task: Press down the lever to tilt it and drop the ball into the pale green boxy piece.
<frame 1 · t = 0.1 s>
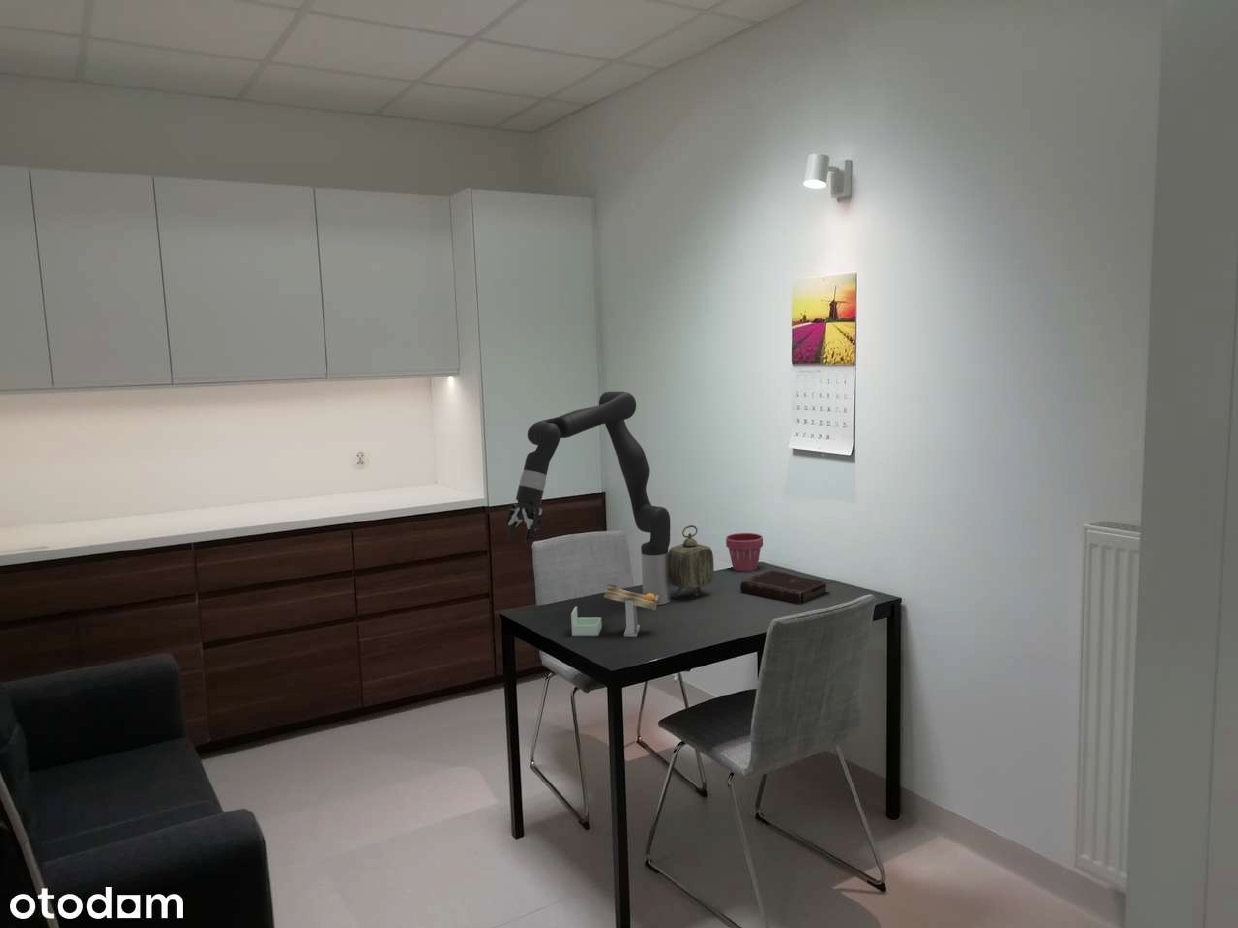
hand: (518, 540, 264), 31 cm above the table, tool tilted 20°, fingers open, 8 cm apart
ball: (649, 598, 272), point 10 cm above the table, tilted 11°, touching lever
pale green boxy piece: (587, 631, 276), on the table
lever: (631, 593, 276), point 11 cm above the table, hinge at 15.0°, touching ball
plant pot: (745, 569, 347), on the table
tabletop clock: (692, 596, 312), on the table
diary: (785, 594, 311), on the table
fulcrum: (632, 631, 274), on the table
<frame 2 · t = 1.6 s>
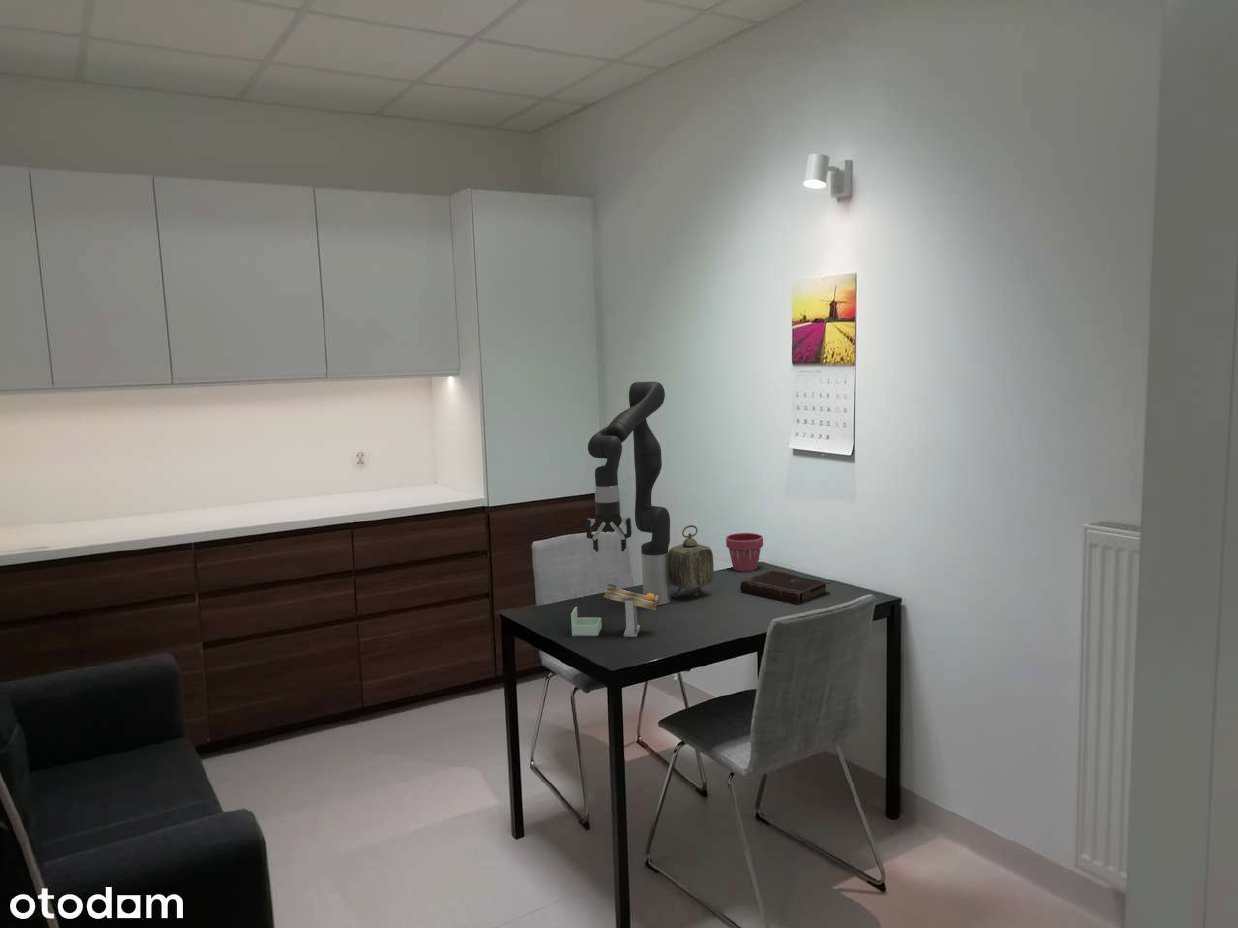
hand: (609, 551, 279), 24 cm above the table, tool pointing down, fingers open, 7 cm apart
nothing on the table moved.
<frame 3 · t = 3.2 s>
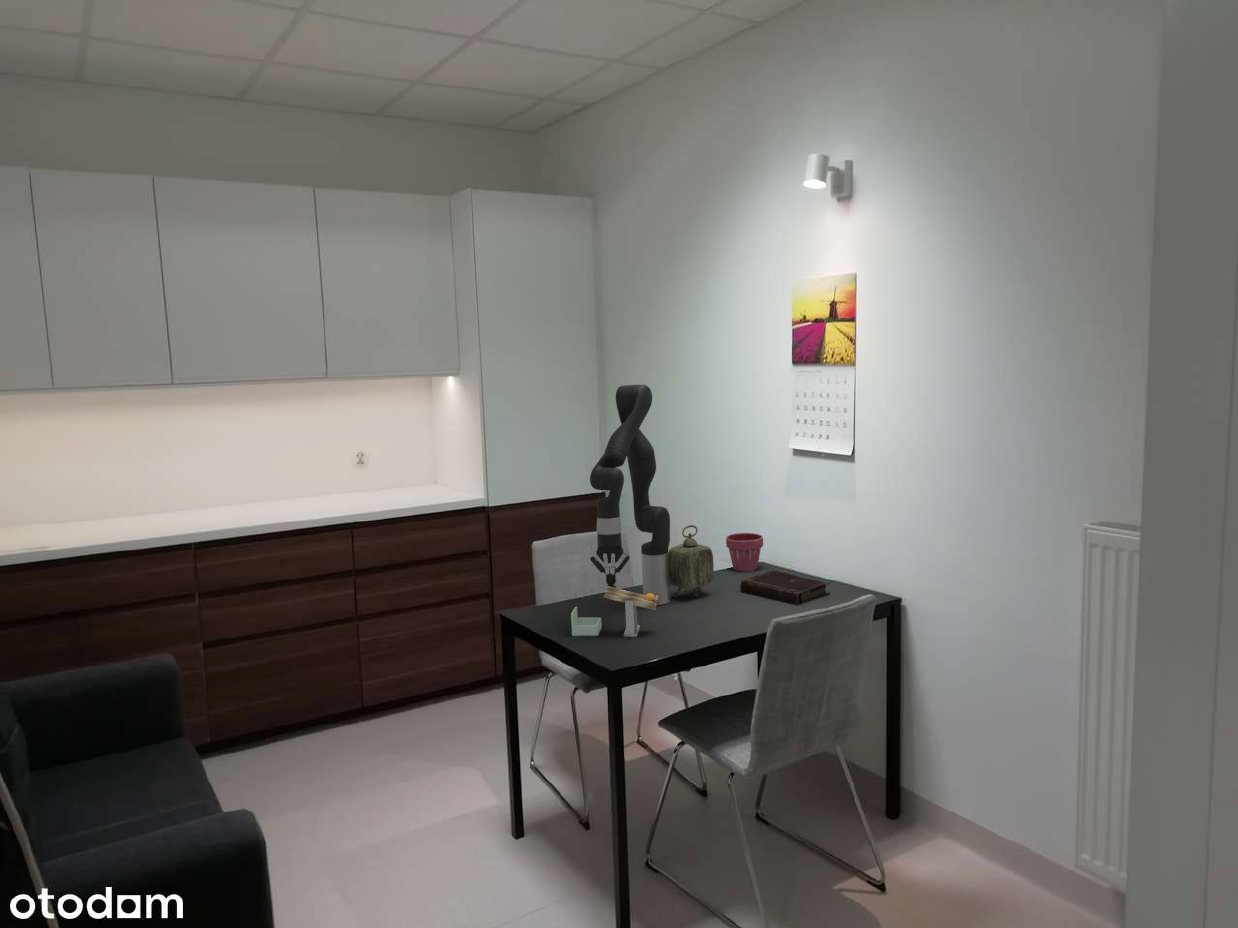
hand: (611, 585, 280), 13 cm above the table, tool pointing down, fingers closed
ball: (649, 598, 272), point 11 cm above the table, tilted 10°
lever: (631, 593, 276), point 11 cm above the table, hinge at 14.8°, touching gripper
everything else where it was.
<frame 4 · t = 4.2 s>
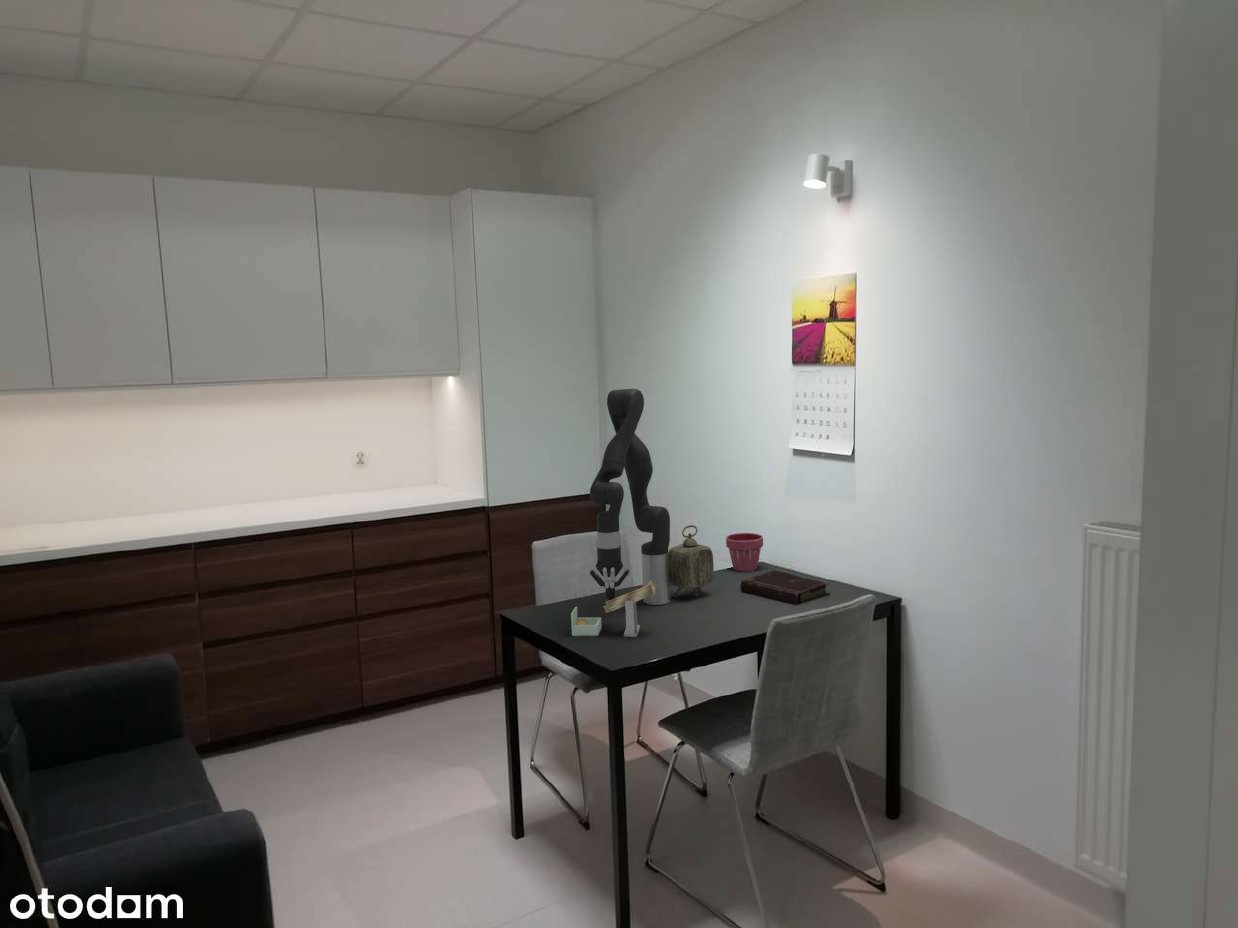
hand: (610, 599, 281), 8 cm above the table, tool pointing down, fingers closed
ball: (581, 625, 276), point 2 cm above the table, tilted 150°, touching pale green boxy piece
lever: (629, 594, 276), point 11 cm above the table, hinge at -21.4°, touching gripper
everything else where it was.
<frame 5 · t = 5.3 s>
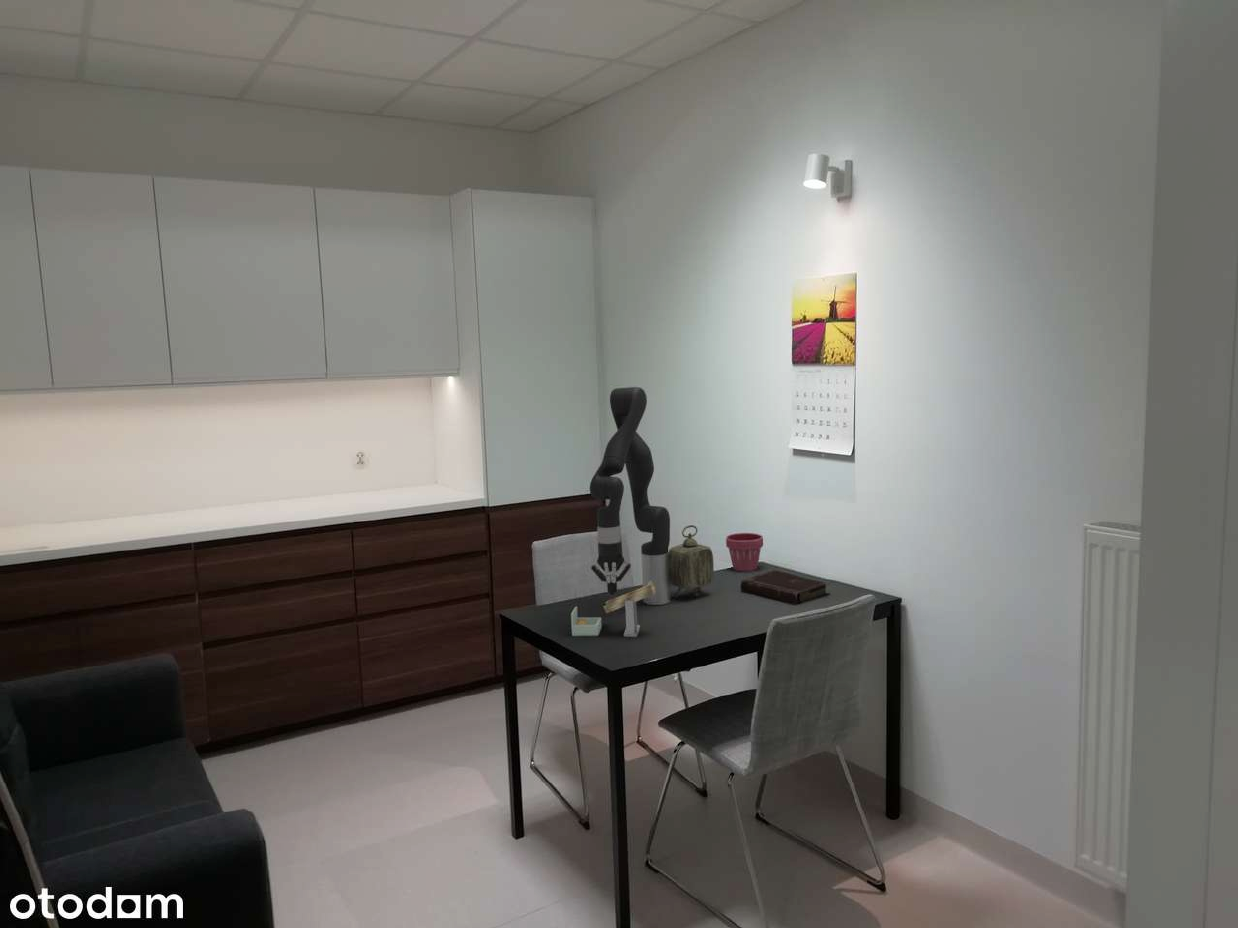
hand: (612, 593, 281), 10 cm above the table, tool pointing down, fingers closed
lever: (629, 594, 276), point 11 cm above the table, hinge at -21.6°
everything else where it was.
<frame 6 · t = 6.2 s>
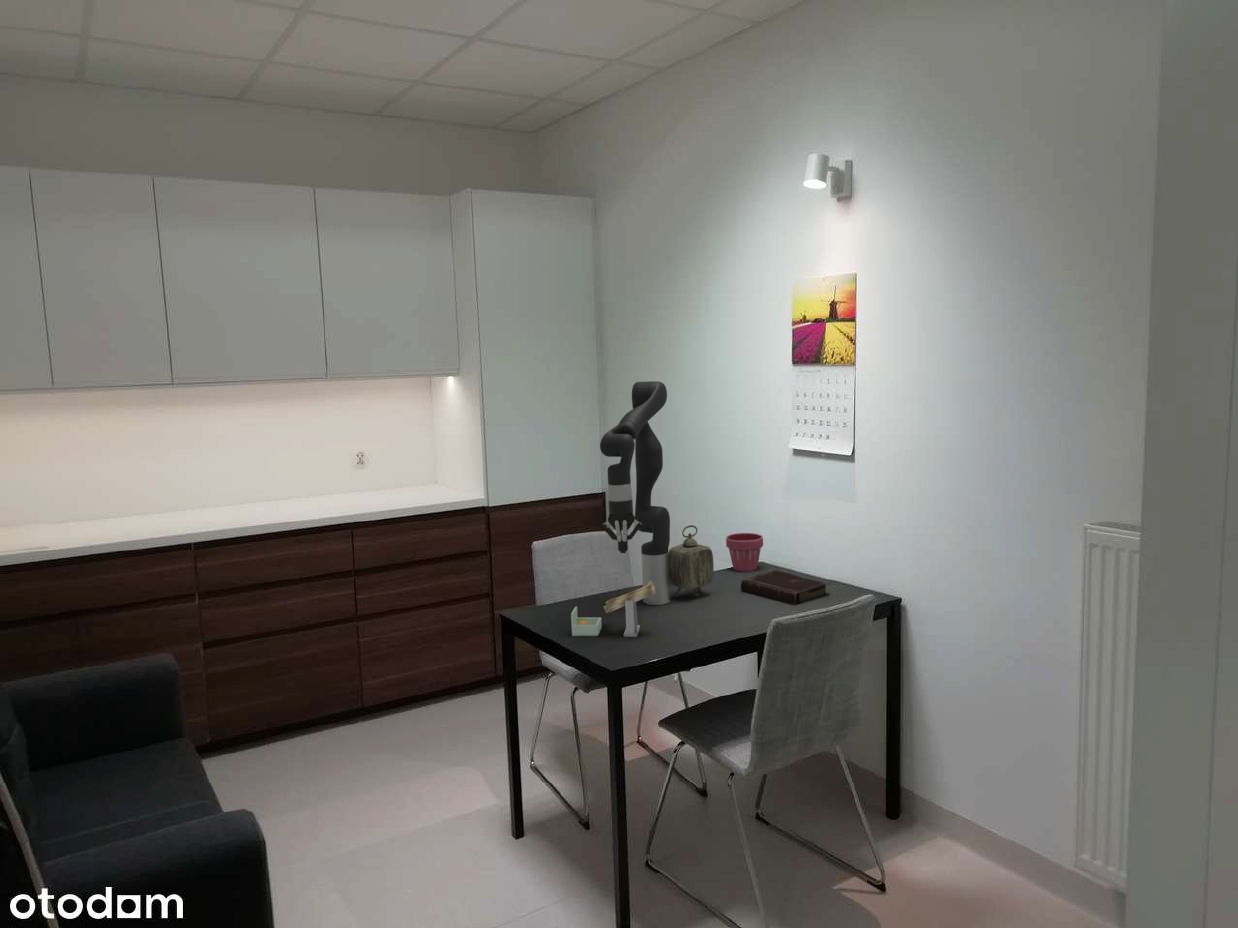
hand: (623, 552, 279), 23 cm above the table, tool pointing down, fingers closed
ball: (582, 625, 276), point 2 cm above the table, tilted 137°, touching pale green boxy piece
everything else where it was.
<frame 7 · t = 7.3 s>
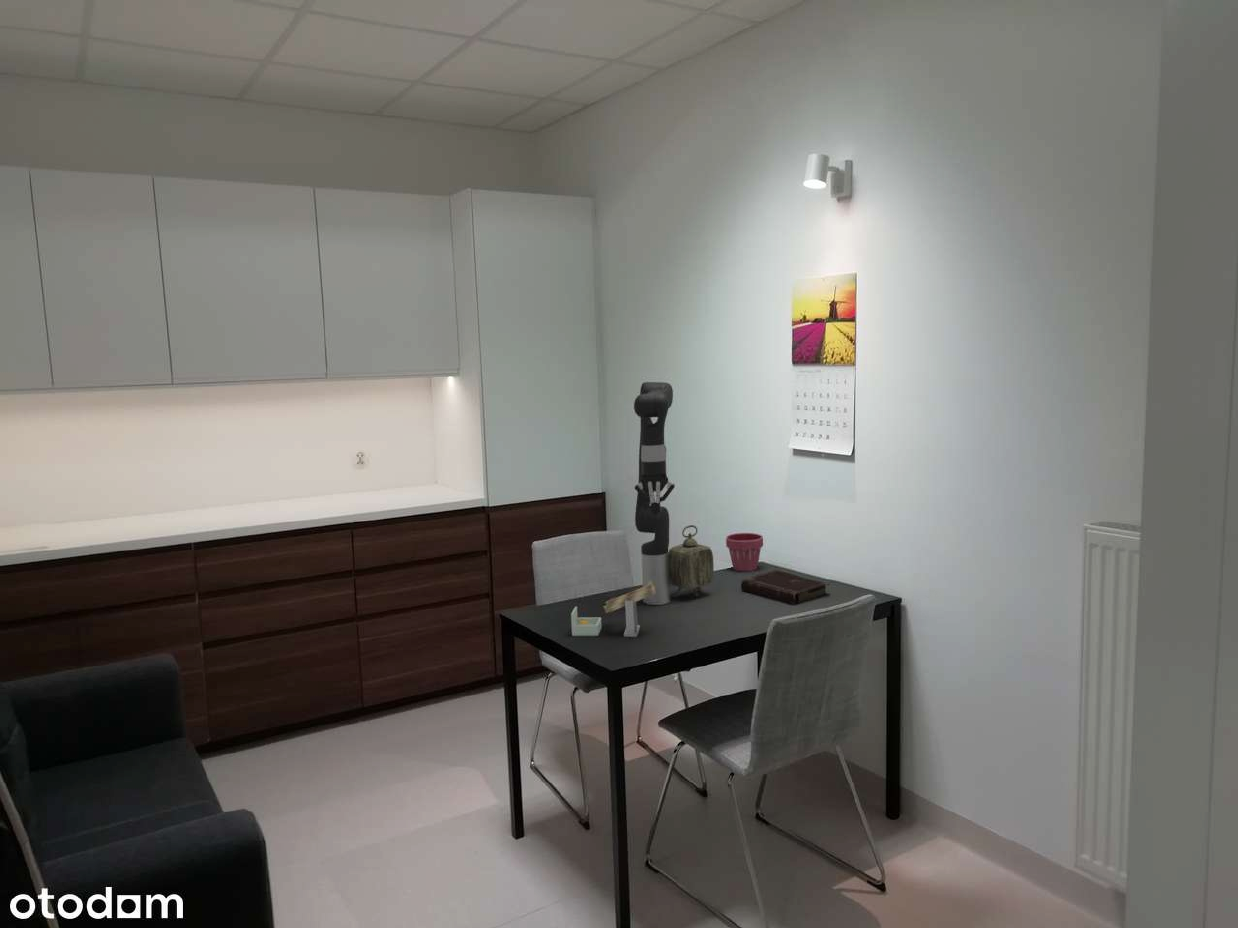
hand: (655, 514, 277), 35 cm above the table, tool pointing down, fingers closed
ball: (583, 625, 276), point 2 cm above the table, tilted 123°, touching pale green boxy piece
everything else where it was.
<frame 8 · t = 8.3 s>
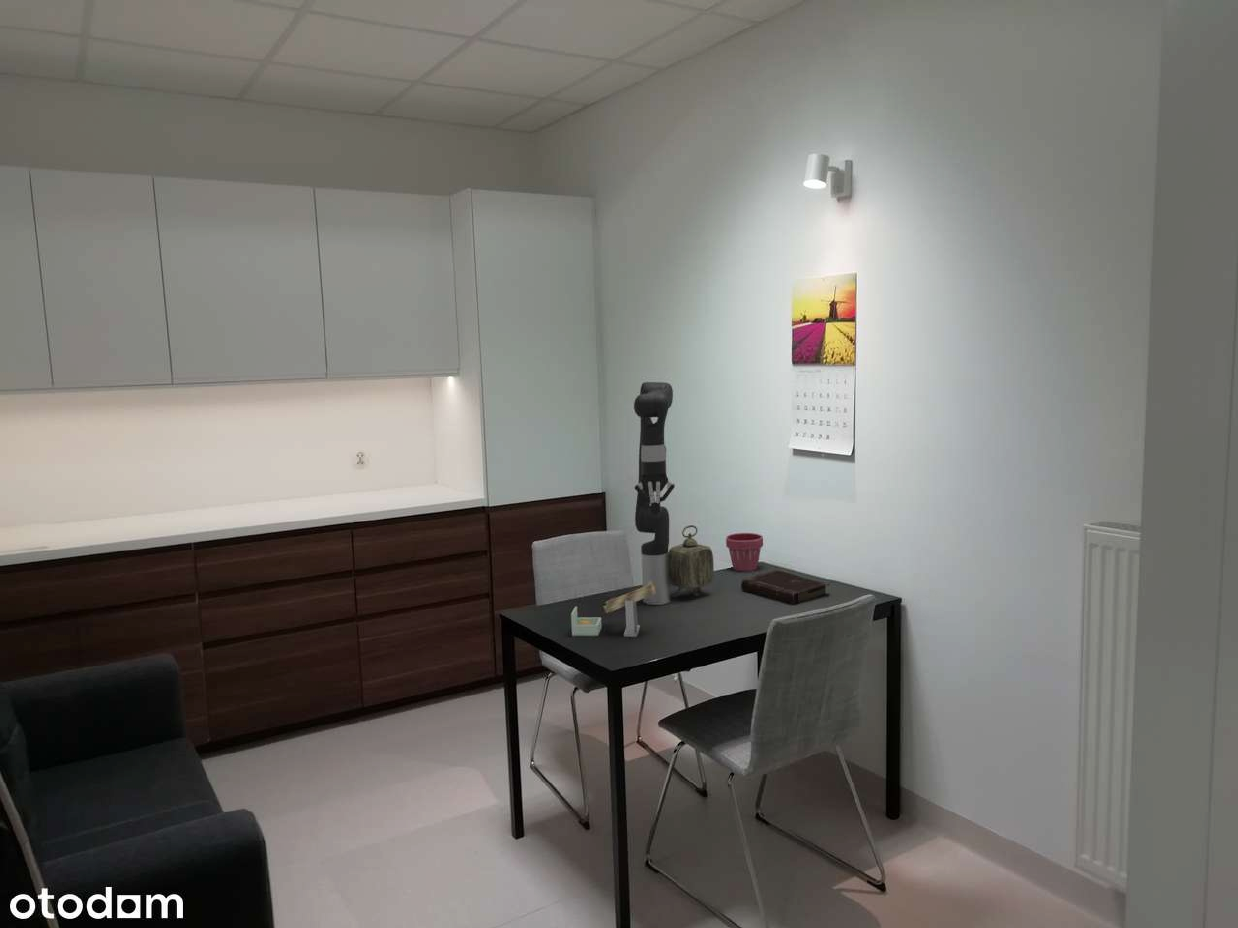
hand: (655, 514, 277), 35 cm above the table, tool pointing down, fingers closed
ball: (585, 625, 276), point 2 cm above the table, tilted 110°, touching pale green boxy piece
at the end: ball inside the target area on the pale green boxy piece (0.5 cm from its centre), point 2.0 cm above the pale green boxy piece's base; ball point 2.0 cm above the table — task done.
